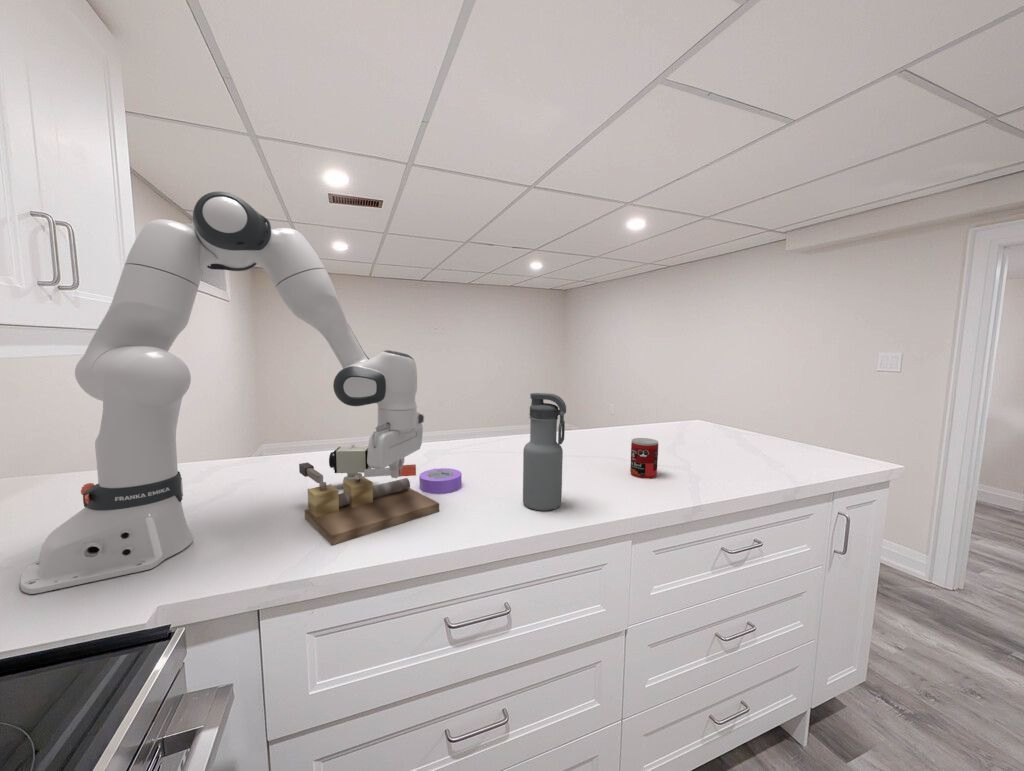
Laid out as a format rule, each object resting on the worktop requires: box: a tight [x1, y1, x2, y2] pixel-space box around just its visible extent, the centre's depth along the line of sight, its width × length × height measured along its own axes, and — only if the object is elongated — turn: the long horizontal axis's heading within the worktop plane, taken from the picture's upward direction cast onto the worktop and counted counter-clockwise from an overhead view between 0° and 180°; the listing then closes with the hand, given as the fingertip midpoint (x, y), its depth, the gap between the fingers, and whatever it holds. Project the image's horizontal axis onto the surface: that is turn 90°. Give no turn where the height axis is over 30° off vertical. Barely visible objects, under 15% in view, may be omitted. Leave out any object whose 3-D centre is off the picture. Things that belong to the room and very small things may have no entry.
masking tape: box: [418, 467, 463, 495], centre depth 115 cm, size 12×12×4 cm
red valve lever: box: [355, 463, 417, 482], centre depth 99 cm, size 2×14×3 cm, turn 105°
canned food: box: [629, 437, 659, 479], centre depth 127 cm, size 8×8×11 cm
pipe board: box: [298, 462, 440, 546], centre depth 99 cm, size 25×27×10 cm
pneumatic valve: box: [328, 443, 372, 482], centre depth 114 cm, size 6×12×12 cm, turn 96°
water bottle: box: [522, 392, 567, 512], centre depth 102 cm, size 10×10×28 cm
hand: (396, 476), depth 98 cm, fingers closed
